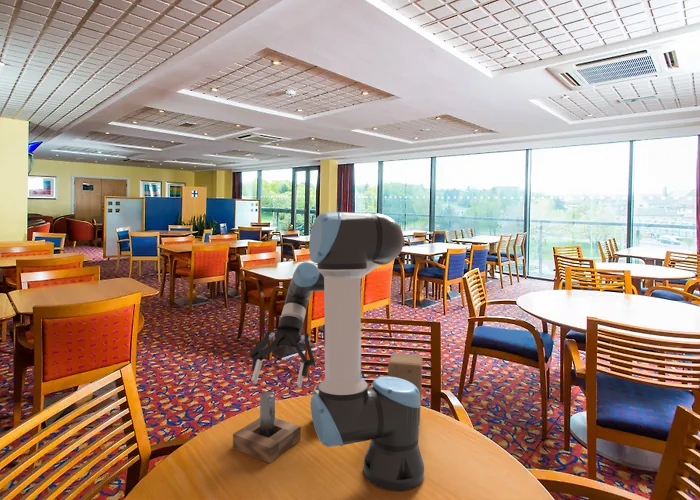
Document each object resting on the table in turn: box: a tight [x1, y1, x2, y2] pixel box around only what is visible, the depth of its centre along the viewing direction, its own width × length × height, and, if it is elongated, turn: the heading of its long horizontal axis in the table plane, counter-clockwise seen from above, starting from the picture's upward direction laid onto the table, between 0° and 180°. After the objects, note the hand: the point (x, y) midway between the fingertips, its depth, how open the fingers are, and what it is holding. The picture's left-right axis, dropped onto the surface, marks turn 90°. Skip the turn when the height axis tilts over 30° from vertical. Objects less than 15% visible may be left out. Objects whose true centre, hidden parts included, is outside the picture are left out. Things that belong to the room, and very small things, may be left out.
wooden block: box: [387, 352, 424, 424], centre depth 131 cm, size 10×10×20 cm
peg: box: [259, 391, 276, 438], centre depth 116 cm, size 4×4×14 cm
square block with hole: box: [232, 417, 301, 464], centre depth 117 cm, size 13×13×4 cm
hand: (275, 384), depth 122 cm, fingers open, 13 cm apart
